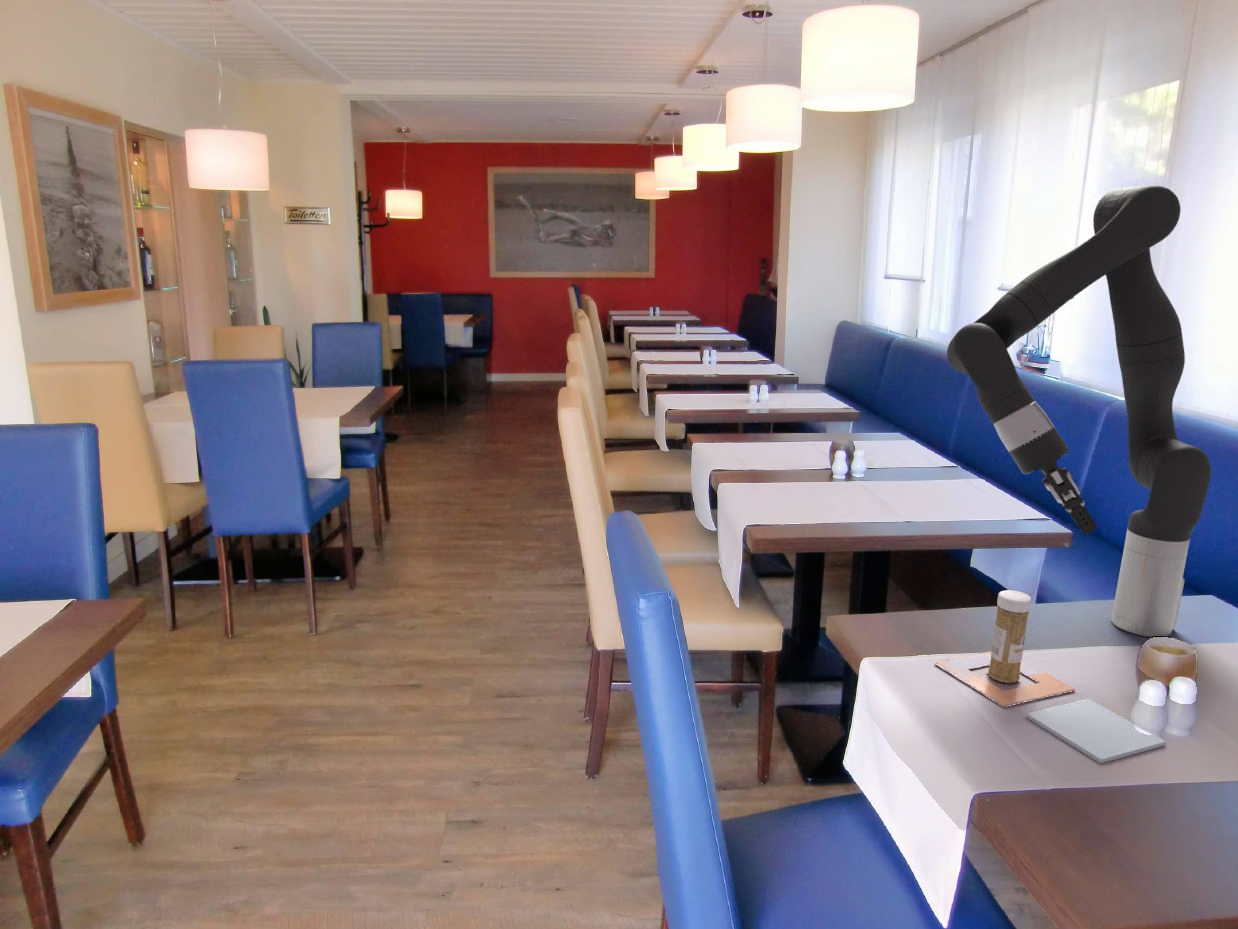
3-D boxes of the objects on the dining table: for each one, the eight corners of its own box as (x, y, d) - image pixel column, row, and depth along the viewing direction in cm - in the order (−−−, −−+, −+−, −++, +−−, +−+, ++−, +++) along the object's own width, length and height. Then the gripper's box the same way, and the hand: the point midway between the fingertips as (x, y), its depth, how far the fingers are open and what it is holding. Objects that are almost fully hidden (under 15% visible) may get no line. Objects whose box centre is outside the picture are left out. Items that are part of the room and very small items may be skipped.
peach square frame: (1002, 651, 144) (1002, 648, 143) (1075, 691, 131) (1075, 689, 131) (934, 664, 138) (934, 662, 138) (1003, 708, 126) (1004, 705, 126)
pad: (1087, 702, 128) (1088, 698, 128) (1165, 745, 117) (1165, 741, 117) (1025, 717, 123) (1026, 713, 123) (1100, 763, 113) (1101, 759, 113)
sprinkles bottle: (1021, 686, 132) (1033, 602, 129) (988, 681, 133) (1000, 598, 130) (1017, 673, 136) (1029, 591, 133) (985, 668, 137) (997, 587, 134)
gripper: (1056, 425, 130) (1118, 521, 127) (1050, 425, 143) (1107, 512, 140) (1007, 450, 133) (1068, 545, 130) (1006, 448, 146) (1061, 534, 143)
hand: (1088, 528), depth 135 cm, fingers open, 8 cm apart
